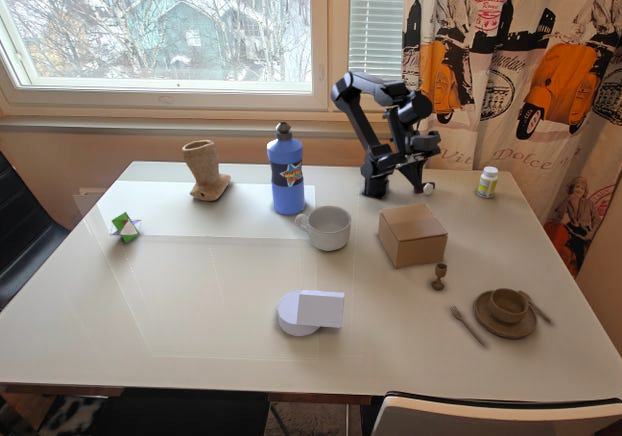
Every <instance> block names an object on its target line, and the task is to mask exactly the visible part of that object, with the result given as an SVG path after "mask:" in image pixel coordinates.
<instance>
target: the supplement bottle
mask: <svg viewBox="0 0 622 436" xmlns="http://www.w3.org/2000/svg"><path fill="white" fill-rule="evenodd" d="M498 174H499V169H498V168H497V167H495V166H485V167H484V168H483V171H482V173H481V175H480V178H479V182H478V187H477V192H476V193H477V195H478V196H480V197H481V198H485V199H486V198H487V199H488V198H489V199H490V198H492V197H494V194H495V190H496V188H497V183H498V180H499V176H498Z"/></svg>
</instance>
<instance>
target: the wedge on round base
mask: <svg viewBox="0 0 622 436" xmlns="http://www.w3.org/2000/svg"><path fill="white" fill-rule="evenodd" d="M345 297H346V293H345V292H341V291H340V292H337V291H327V290H326V291H324V290H312V289H311V290H310V289H297V290H292V291H290V292H288V293H286V294H284V295H283V296H282V297H281V298H280V300H279V301H278V303H277V307H276V308H277V309H276V310H277V311H276V312H277V318H278V319H277V320H278V324H279V327H280V328H281V329H282V330H283V332H284V333H286V334H288V335H291V336H293V337H294V336H295V337H304V336H309V335H311V334H313V333H315V332H317V330H319V329H320V327H324V328H325V327H327V328H336V329H337V328H338V329H342V326H343V317H344V308H345Z"/></svg>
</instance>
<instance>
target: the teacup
mask: <svg viewBox="0 0 622 436" xmlns="http://www.w3.org/2000/svg"><path fill="white" fill-rule="evenodd" d="M301 220H304V221H305V222H306V225H307V226H306V225H304V224H303V223H302V222H301ZM294 221H295V225H296V226H297V228H299V229H300V230H301V231H302V232H304V233H305V234H306V235H308V239H309V241H310V243H311V244H312V245H313V246H314V247H315V248H317V249H319V250H321V251H327V252H333V251H337V250H339V249H341V248H343V247H344V246H345V245H346V244H347V243H348V241H349V239H350V235H351V223H352V216H351V214H350V212H348V211H347V210H346V209H345V208H343V207H340V206H335V205H323V206H319V207H316V208H314V209H312V210H311V211H310V212H309V213H308V215H307V214H306V213H298V214H297V215H296V217H295V220H294Z"/></svg>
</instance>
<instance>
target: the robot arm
mask: <svg viewBox="0 0 622 436" xmlns="http://www.w3.org/2000/svg"><path fill="white" fill-rule="evenodd" d="M363 92H364V93H366V94H368V95H370V96H372V97H373V100H374V102H375V103H376V104H378V105H379V106H380V107H382V108H385V107H388V108H385V109H384V112H383V114H382V116H381V118H382V120H387V123H388V127H389V131H390V134H391V137H390V138H389V143H390V144H391V143H393V145H394V148H395V151H396V152H394V151H393V149H392V147H391V145H390V144H389V143H387V142H386V143H381V142H380V140H379V138H378V136H377V134H376V132H375V131H374V129H373V127H372V125H371V123H370V121H369V119H368V117H367V116H366V114H365V112H364V110H363V108H362V106H361V97H362V96H361V94H362V93H363ZM422 92H423V91H422V90H421V89H414V90H411V89H410V88H409V87H408V86H407V85H406V82H405V81H404V80H402V79H383V78H380V77H377V76H375V75H373V74H370V73H367V72H364V70H362V69H356V70H355V69H354V70H349V71H347V72H346V73H345V74H344V75H343V77H341V78H340V79H339V80H337V81H336V82H335V83H334V84H333V86H332V88H331V90H330V95H329V96H330V99H331V101H332V103H333V105H334V106H335V107H336V108H337V109H338V110H339V111H341V112H342V113H344V114H345V115H346V117H347V119H348V121H349V122H350V125H351V126H352V128H353V130H354V133H355V134H356V137H357V138H358V140H359V142H360V144H361V146H362V148H363V150H364V159H363V162H364V163H363V164H362V165H361V166H360V167H359V170H360V175H361V176H362V177H363V178H364V189H363V191H362V192H361V195H363V196H368V197H371V198H374V199H378V200H382V199H383V198H384V197H385V196H386V195H387V194H388V192H389V191H390V179H389V176H391V175H394V172H395V171H396V170H397V171H398V172H399V173H400V174H401V175H403V177H404V178H406V180H407V181H408V182H409V183H410V184H411V185H412V186H413V188H414V187H415V188H416V190H419V189H421V188H422V183H423V171H424V166H425V164H426V162H428V161H429V159H430V158H432V157H435V156H438V155H441V154H442V151H441V148H440V145H438V144H440V143H441V142H442V138H441V135H440V133H439V130H436V129H435V130H429V131H428V133H427V134H421V132H420V130H418V129H415V128H414V125H416V124H417V123H419V122H421V121H423V120H425V119H426V118H427V119H428V117H430V116H431V115H432V113H433V110H434V106H433V102H432V101H431V99H430V98H429V97H428V96H427V95H426V94H424V93H422Z"/></svg>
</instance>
